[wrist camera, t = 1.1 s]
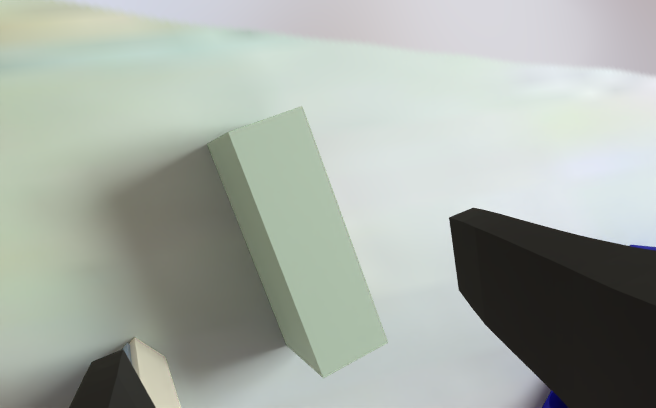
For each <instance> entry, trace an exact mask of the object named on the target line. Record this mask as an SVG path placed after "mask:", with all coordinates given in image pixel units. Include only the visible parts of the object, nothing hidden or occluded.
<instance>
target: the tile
mask: <svg viewBox="0 0 656 408" xmlns="http://www.w3.org/2000/svg"><path fill="white" fill-rule="evenodd" d="M122 350H124V351H125V353H126V355H127V357H128V359H129V360H130V362H131V364H132V366H133V367H134V369H135V371H136V373H137V375H138V376H139V378H140V380H141V382H142V384H143V385H144V387H145V389H146V391H147V393H148V394H149V396H150V398H151V400H152V402H153V403H154V405H155V407H156V408H181V406H180V402H179V399H178V396H177V393H176V389H175V386H174V383H173V380H172V376H171V373H170V370H169V367H168V363H167V360H166V357H165V356H163V355H162V354H160V353H159V352H157V351H156V350H154V349H152V348H151V347H149V346H148V345H146V344H145V343H143V342H142V341H140V340H139V339H137V338H135V337H134V338H133V340H132V341H131V342H130V343H129V344H128V343H126V345H125V346H124V347H123V349H122Z"/></svg>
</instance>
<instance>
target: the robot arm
mask: <svg viewBox="0 0 656 408" xmlns="http://www.w3.org/2000/svg"><path fill="white" fill-rule="evenodd" d="M449 220H450V227H451V235H452V242H453V250H454V257H455V265H456V272H457V280H458V287H459V291H460V292H461V294H462V295H463V296H464V298H465V299H466V300H467V302H468V303H469V304H470V306H471V307H472V308H473V310H474V311H475V312H476V313H477V315H478V316H479V317H480V318H481V320H482V321H483V322H484V323H485V325H486V326H487V327H488V328H489V329H490V330H491V331H492V332H493V333H494V334H495V335H496V336H497V337H498V338H499V339H500V340H501V341H502V342H503V343H504V344H505V345H506V346H507V347H508V348H509V349H510V350H511V351H512V352H513V353H514V354H515V355H516V356H517V357H518V358H519V359H520V360H521V361H522V362H523V363H524V364H525V365H526V366H528V367H529V368H530V369H531V370H532V371H533V372H534V373H535V374H536V375H537V376H538V377H539V378H540V379H541V380H542V381H543V382H544V383H545V384H546V385H547V386H548V387H549V388H550V389H551V390H552V391H553V392H554V393H555V394H556V395H557V396H558V397H559V398H560V399H561V400H562V401H563V402H564V403H565V404H566V405H567V407H568V408H656V250H649V249H642V248H637V247H631V246H626V245H621V244H616V243H611V242H607V241H602V240H597V239H593V238H588V237H584V236H580V235H576V234H572V233H568V232H564V231H560V230H556V229H552V228H549V227H545V226H541V225H538V224H534V223H530V222H527V221H523V220H520V219H516V218H513V217H509V216H505V215H502V214H498V213H494V212H490V211H486V210H482V209H477V208H472V209H469V210H467V211H464V212H462V213H459V214H457V215H454V216H452V217H449ZM69 408H156V407H155V405H154V403H153V402H152V400H151V398H150V396H149V394H148V393H147V391H146V389H145V387H144V385H143V384H142V382H141V380H140V378H139V376H138V375H137V373H136V371H135V369H134V367H133V366H132V364H131V362H130V360H129V359H128V357H127V355H126V353H125V351H124V350H120V351H118V352H115V353H113V354H110V355H108V356H106V357H103V358H101V359H98V360H96V361H93V362H92V363H91V365H90V367H89V369H88V371H87V373H86V374H85V376H84V378H83V380H82V382H81V385H80V387H79V389H78V391H77V393H76V395H75V397H74V399H73V401H72V403H71V405H70V407H69Z"/></svg>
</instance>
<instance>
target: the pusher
mask: <svg viewBox="0 0 656 408" xmlns="http://www.w3.org/2000/svg"><path fill="white" fill-rule="evenodd" d="M207 145H208V148H209V150H210V153H211V155H212V158H213V161H214V163H215V166H216V168H217V171H218V173H219V176H220V178H221V181H222V183H223V186H224V188H225V191H226V193H227V196H228V199H229V201H230V204H231V206H232V209H233V211H234V214H235V216H236V219H237V221H238V224H239V226H240V229H241V231H242V234H243V236H244V239H245V242H246V244H247V247H248V249H249V252H250V254H251V257H252V259H253V262H254V264H255V267H256V269H257V272H258V274H259V277H260V279H261V282H262V285H263V287H264V290H265V292H266V295H267V297H268V300H269V302H270V305H271V307H272V310H273V312H274V315H275V317H276V320H277V322H278V325H279V328H280V330H281V333H282V335H283V338H284V340H285V343H286V345H287V346H288V347H289V348H290V349H291V350H292V351H293V352H295V353H296V354H297V355H298V356H299V357H300V358H301V359H302V360H304V361H305V362H306V363H307V364H308V365H309V366H310V367H311V368H313V369H314V370H315V371H316V372H317V373H318V374H319V375H320V376H322V377H323V378H325V377H327V376H329V375H330V374H332V373H334V372H336V371H338V370H339V369H341V368H343V367H345V366H347V365H349V364H350V363H352V362H354V361H356V360H358V359H359V358H361V357H363V356H365V355H367V354H368V353H370V352H372V351H374V350H376V349H378V348H379V347H381V346H383V345H385V344H387V343H388V341H387V338H386V335H385V333H384V330H383V327H382V324H381V322H380V319H379V316H378V313H377V311H376V308H375V305H374V302H373V300H372V297H371V294H370V291H369V289H368V286H367V283H366V280H365V278H364V275H363V272H362V269H361V267H360V264H359V261H358V258H357V256H356V253H355V250H354V247H353V245H352V242H351V239H350V236H349V234H348V231H347V228H346V225H345V223H344V220H343V217H342V214H341V212H340V209H339V206H338V203H337V200H336V198H335V195H334V192H333V189H332V187H331V184H330V181H329V178H328V176H327V173H326V170H325V167H324V165H323V162H322V159H321V156H320V154H319V151H318V148H317V145H316V143H315V140H314V137H313V134H312V132H311V129H310V126H309V123H308V121H307V118H306V115H305V112H304V110H303V107H302V106H301V107H298V108H295V109H293V110H290V111H287V112H284V113H281V114H278V115H275V116H273V117H270V118H267V119H264V120H261V121H258V122H256V123H253V124H250V125H247V126H244V127H241V128H238V129H236V130H233V131H230V132H227V133H226V134H224V135H222V136H220V137H219V138H217V139H215V140H213V141H212V142H210V143H208V144H207Z"/></svg>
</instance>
